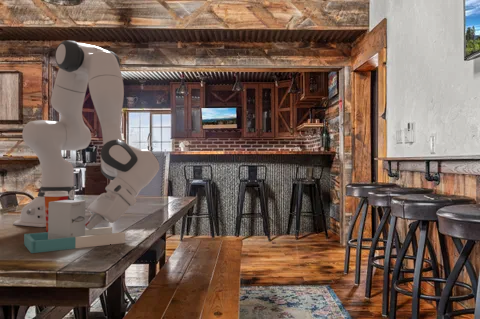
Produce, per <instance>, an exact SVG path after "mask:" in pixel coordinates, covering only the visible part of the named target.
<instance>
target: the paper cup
mask: <svg viewBox="0 0 480 319" xmlns="http://www.w3.org/2000/svg"><path fill="white" fill-rule="evenodd" d="M44 196H45V215H46V227H45V230H46V232H48V209H49V202H53V201H61V200H68V196H69V194H68V191H47V192H45V195H44Z"/></svg>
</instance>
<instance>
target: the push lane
mask: <svg viewBox="0 0 480 319" xmlns="http://www.w3.org/2000/svg"><path fill="white" fill-rule="evenodd" d="M23 235H24V236H23V239H24V241H23V246H25V248H27V251H29V252H30V254H35V253H36V254H37V253H45V252H55V251H56V252H57V251H64V250H72V249H83V248H91V247H101V246H102V247H103V246H108V245H109V246H110V244H111V245H118V244H119V245H120V244H126V232H124V231H123V232H114V233H113V226H107V227H105V226H104V227H103V226H102V227H93V229H92V230H89V229H87V228H85V236H79V237H69V238H58V239H48V232H45V231H44V232H43V231H42V232H34V233H24V234H23Z"/></svg>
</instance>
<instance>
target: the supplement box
mask: <svg viewBox="0 0 480 319" xmlns="http://www.w3.org/2000/svg"><path fill="white" fill-rule="evenodd" d="M85 223H86V200H84V199H82V200H79V199H74V200H61V201H53V202H49V209H48V239H58V238H69V237H79V236H85V229H86V227H85Z"/></svg>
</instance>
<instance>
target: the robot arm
mask: <svg viewBox="0 0 480 319" xmlns="http://www.w3.org/2000/svg"><path fill="white" fill-rule="evenodd" d="M54 55H55V58H54V59H55V63H56V65H57V66H58V68H59V69H58V72H57V74H56V77H55V81H54V85H53V89H52V92H51V97H50V105H51V106H52V107H51V108H53V109H54V110H55V111H56V113H59V114H60V118H59V120H57V121H56V120H44V119H39V120H33V121H31V120H30V121H29V122H27V123H26V124H25V126H24V127H23V129H22V132H21V133H22V141H23V142H24V144H25V145H26V147H28V148H30V150H32V151H33V152H34V154H35V155H36V157H37V158H38V160H39V164H40V167H41V186H40V187H39V188H35V189H34V190H35V193H37V196H36V197H35V198H34V199H32V200H31V201H30V202H29V203H27V204H26V205H24V206H23V207H22V209H21V212H20V219H17V220H15V221H13V225H14V226H15V225H16V226H27V227H36V228H46V215H45V196H44V195H45V192H47V191H68V194H69V196H68V200H75V198H76V197H75V196H76V195H75V194H76V188H75V184H74V181H75V180H74V179H75V178H74V177H75V176H74V174H75V173H74V171H75V170H74V169H75V168H74V166H73V164H72V162H69V161H68V160H66V159H65V158H64V157H63V155H62V151H79V150H85V149H87V148H88V147H89V145H90V143H91V141H92V132H91V131H90V128H89V126H87V124H86V123H85V122H84V119H83V107H84V101H85V97H86V92H87V90H89V95H90V98H91V101H92V104H93V107H94V110H95V113H96V115H97V117H98V121H99V124H100V127H101V135H102V136H101V137H102V145H103V146H102V147H101V149H100V172H101V174H102V175H103V176H104V177H105V179H108V180H110V182H109V183H108V184H107V185H106V186H105V189H104V190H105V191H106V192H103V193H100V195H98V196H97V197H96V198H95V199H94V200H93V201H92V202H91V203H89V205H88V206H87V207H86V210H87V212H89V213H90V216H89V218H88V220H87V221H85V229H89V230H92V229H93V228H95V227H96V226H98V225H99V224H101V223H102V221H106V222H108V223H109V224H113V223H114V224H115V222H117V221H118V220H119V219H120V218H121V217H123V216H124V215H125V214H126V212H128V210H129V209H130V208H132V207H134V206H135V205H136V204H137V199H136V197H137V196H138V195H139V194H140V192H141V190H142V189H144V188H145V187H147V186H148V185H149V184H150V182H152V180H153V179H154V177H156V176H157V173H158V172H159V170H160V161H159V160H158V158H157V156H156V155H155V154H154V153H153V152H152V151H151V150H149V149H143V148H142V149H141V148H139V147H138V148H137V147H135V146H132V145H130V144H128V143H126V142H125V141H123V138H122V130H121V129H122V128H121V118H122V112H123V111H122V110H123V106H124V95H125V93H124V92H125V90H124V88H125V85H124V80H123V75H122V74H123V73H122V72H121V61H120V57H119V56H118V54H117V53H115V52H113V51H111V50H110V49H104V48H102V47H100V46H96V45H93V44H88V43H84V42H77V41H75V40H62V42H60V43H59V44H58V46H57V48H56V50H55V54H54Z"/></svg>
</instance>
